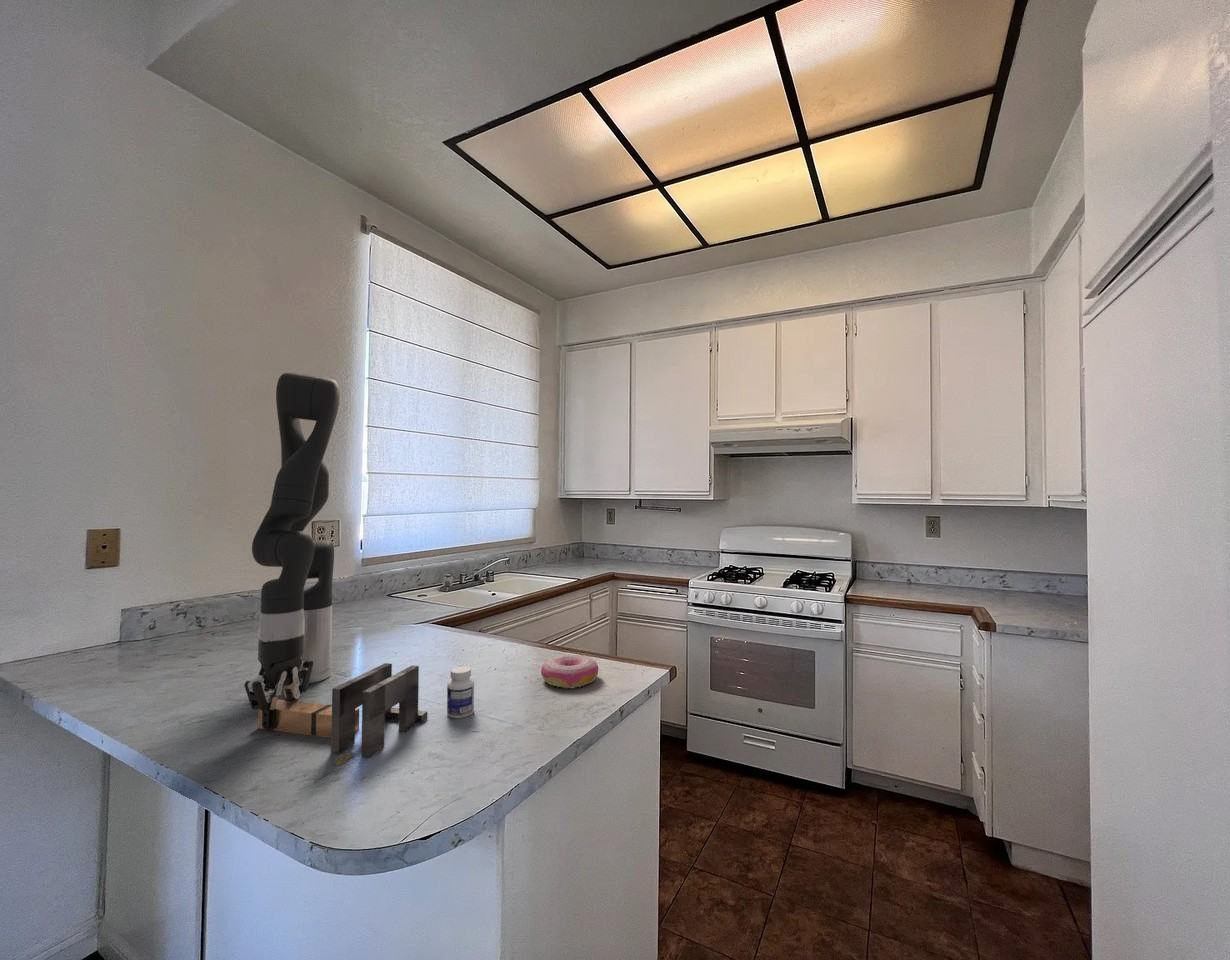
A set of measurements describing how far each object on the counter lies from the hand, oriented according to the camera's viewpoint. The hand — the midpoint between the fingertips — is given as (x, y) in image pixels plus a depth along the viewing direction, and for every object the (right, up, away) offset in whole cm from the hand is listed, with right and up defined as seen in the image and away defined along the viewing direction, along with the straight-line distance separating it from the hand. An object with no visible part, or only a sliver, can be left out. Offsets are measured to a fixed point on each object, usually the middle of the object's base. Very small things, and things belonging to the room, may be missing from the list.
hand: (280, 723), depth 100 cm
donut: (+54, -2, +25) cm, 59 cm away
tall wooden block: (+6, -1, -1) cm, 7 cm away
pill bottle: (+33, -1, +6) cm, 34 cm away
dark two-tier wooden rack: (+21, 0, -5) cm, 22 cm away
